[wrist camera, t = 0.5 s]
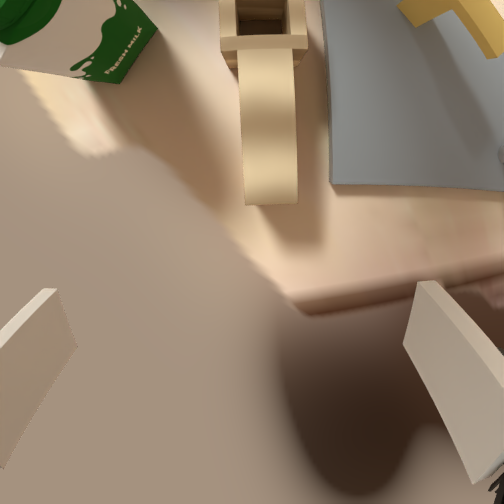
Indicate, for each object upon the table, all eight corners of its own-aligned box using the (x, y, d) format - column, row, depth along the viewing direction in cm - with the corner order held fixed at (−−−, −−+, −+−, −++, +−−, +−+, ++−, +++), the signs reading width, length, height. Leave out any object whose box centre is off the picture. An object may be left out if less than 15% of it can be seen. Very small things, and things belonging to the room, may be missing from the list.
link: (226, 11, 24) (218, -18, 17) (292, 9, 23) (301, -20, 17) (235, 189, 30) (229, 206, 24) (301, 187, 30) (313, 203, 24)
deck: (318, -15, 22) (342, -67, 12) (512, 37, 21) (567, 29, 11) (329, 181, 30) (363, 208, 20) (517, 191, 29) (573, 215, 19)
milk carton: (121, 95, 27) (-29, 79, 8) (64, 63, 25) (-78, 43, 6) (170, 24, 24) (69, -75, 6) (108, -3, 22) (-7, -75, 4)
